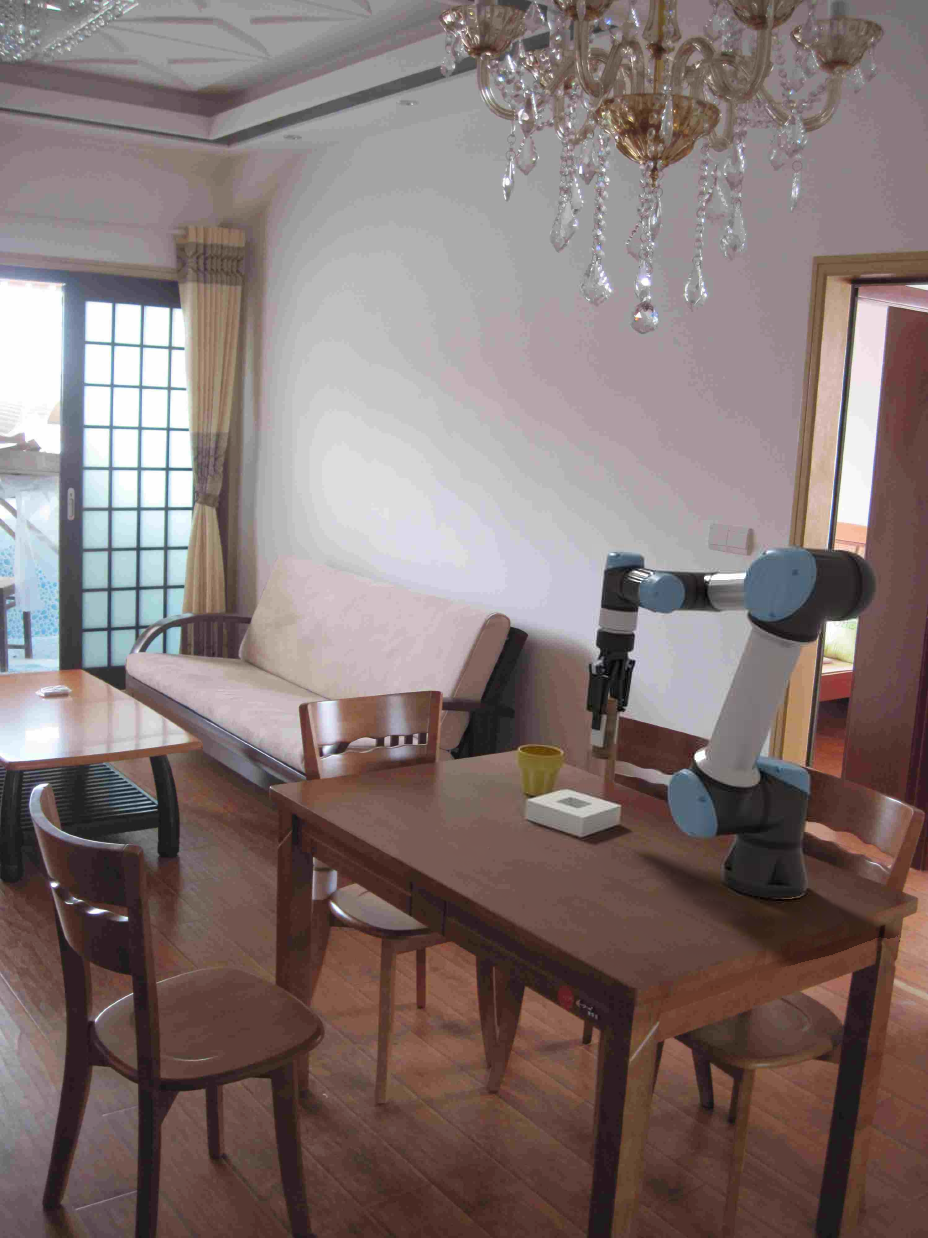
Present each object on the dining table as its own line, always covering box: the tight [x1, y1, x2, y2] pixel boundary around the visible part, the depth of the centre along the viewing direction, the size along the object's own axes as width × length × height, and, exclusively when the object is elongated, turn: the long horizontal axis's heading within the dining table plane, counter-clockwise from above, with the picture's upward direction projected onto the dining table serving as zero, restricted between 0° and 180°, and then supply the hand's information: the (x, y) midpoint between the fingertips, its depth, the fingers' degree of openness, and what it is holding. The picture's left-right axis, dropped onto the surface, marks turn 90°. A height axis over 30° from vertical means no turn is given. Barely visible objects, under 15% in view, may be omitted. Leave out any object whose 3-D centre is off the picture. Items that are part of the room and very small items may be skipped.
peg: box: [591, 696, 618, 761], centre depth 232 cm, size 4×4×12 cm
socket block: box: [524, 788, 622, 838], centre depth 237 cm, size 14×14×4 cm
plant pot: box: [516, 744, 565, 797], centre depth 255 cm, size 10×10×10 cm
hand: (602, 743), depth 232 cm, fingers closed on peg, 4 cm apart
